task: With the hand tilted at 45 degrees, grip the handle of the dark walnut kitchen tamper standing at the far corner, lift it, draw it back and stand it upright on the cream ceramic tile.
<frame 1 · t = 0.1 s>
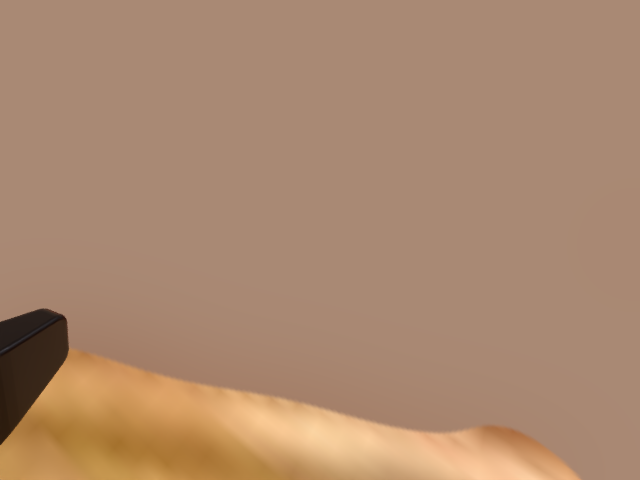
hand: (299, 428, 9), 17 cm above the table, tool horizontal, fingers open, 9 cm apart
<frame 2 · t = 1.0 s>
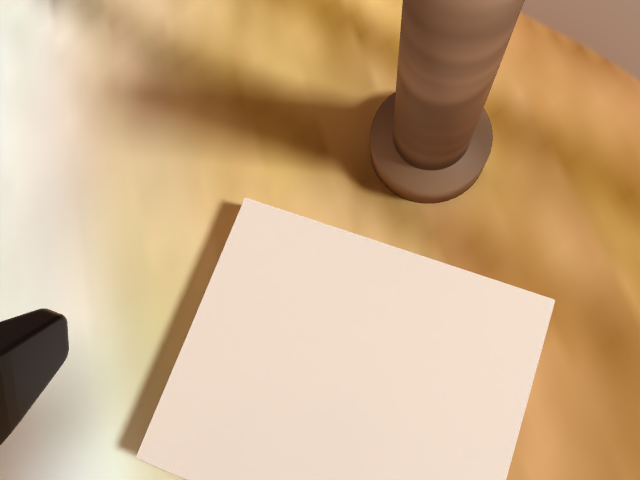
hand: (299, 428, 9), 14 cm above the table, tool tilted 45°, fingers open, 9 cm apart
tamper: (427, 149, 25), on the table
tile: (347, 379, 23), on the table
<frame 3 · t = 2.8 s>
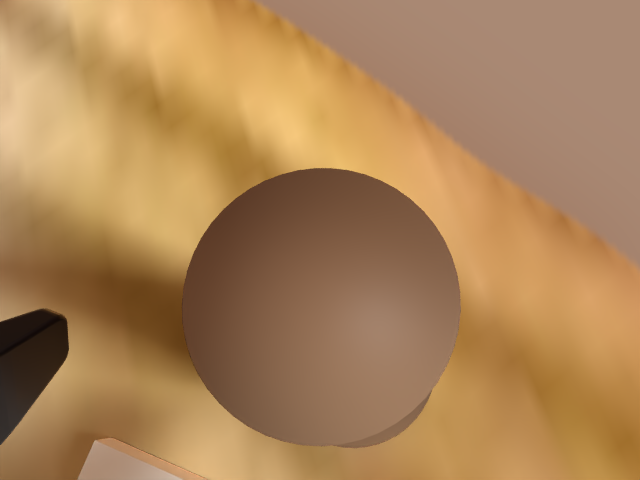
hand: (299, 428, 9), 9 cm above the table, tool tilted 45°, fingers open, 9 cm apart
tamper: (352, 362, 19), on the table
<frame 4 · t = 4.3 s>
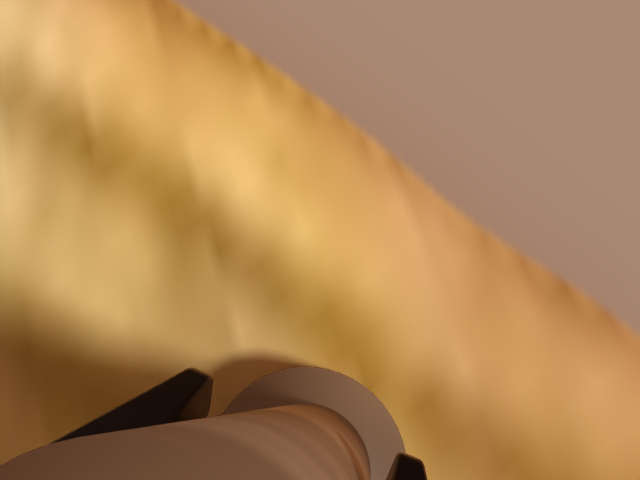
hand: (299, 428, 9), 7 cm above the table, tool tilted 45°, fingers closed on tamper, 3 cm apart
tamper: (311, 463, 15), on the table, touching gripper
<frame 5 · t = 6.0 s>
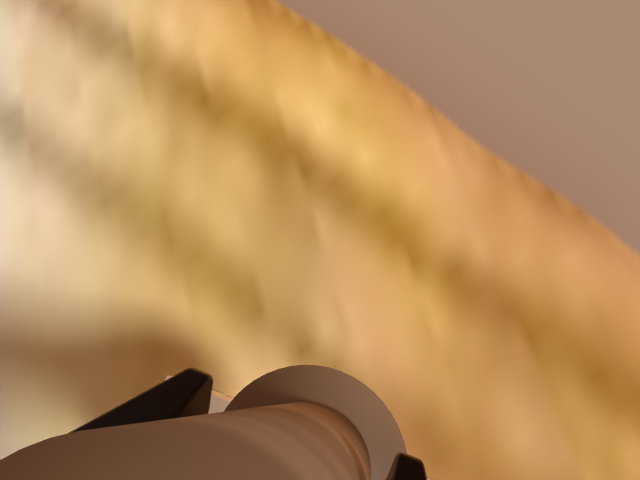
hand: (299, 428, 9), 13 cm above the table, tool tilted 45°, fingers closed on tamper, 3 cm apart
tamper: (311, 462, 15), point 6 cm above the table, touching gripper
when the fingers open (9 cm above the table, at t = 7.7 s): tamper drops 1 cm, resting on tile.
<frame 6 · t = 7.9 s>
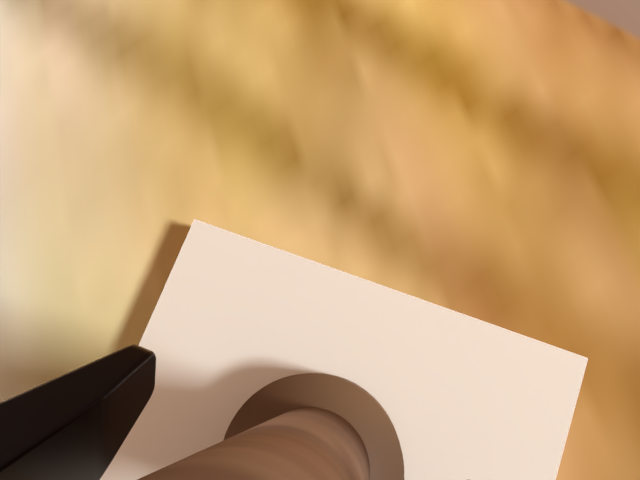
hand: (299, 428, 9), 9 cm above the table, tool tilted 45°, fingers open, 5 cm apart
tamper: (315, 460, 17), point 1 cm above the table, touching tile
tile: (320, 453, 18), on the table
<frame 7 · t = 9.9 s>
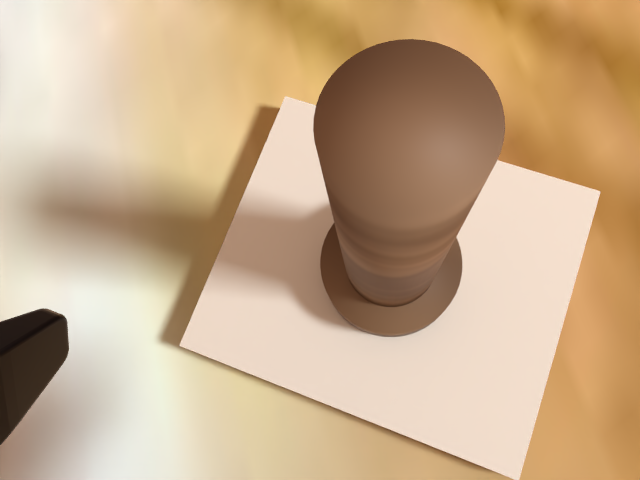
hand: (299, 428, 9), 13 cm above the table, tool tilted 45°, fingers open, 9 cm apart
tamper: (389, 270, 22), point 1 cm above the table, touching tile
tile: (389, 274, 23), on the table
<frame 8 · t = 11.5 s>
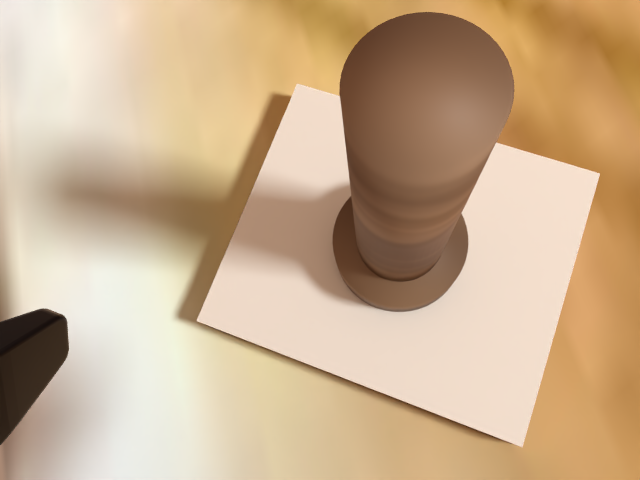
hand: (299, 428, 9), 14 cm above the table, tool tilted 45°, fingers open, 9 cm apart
tamper: (398, 249, 23), point 1 cm above the table, touching tile
tile: (397, 254, 24), on the table
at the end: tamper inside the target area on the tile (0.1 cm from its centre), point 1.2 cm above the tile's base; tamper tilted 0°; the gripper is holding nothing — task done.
